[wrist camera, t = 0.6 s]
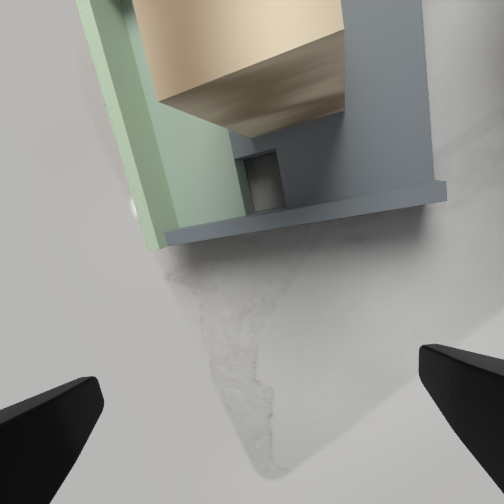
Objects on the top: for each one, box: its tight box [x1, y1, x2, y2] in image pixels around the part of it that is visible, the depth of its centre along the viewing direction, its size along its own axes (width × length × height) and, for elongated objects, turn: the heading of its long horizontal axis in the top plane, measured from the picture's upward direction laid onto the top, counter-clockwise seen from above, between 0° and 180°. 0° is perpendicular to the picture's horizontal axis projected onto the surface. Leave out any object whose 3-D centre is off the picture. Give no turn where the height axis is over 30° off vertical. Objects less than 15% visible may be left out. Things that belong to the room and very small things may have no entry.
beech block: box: [132, 0, 345, 138], centre depth 12 cm, size 6×6×10 cm
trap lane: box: [75, 0, 447, 251], centre depth 17 cm, size 18×18×5 cm
